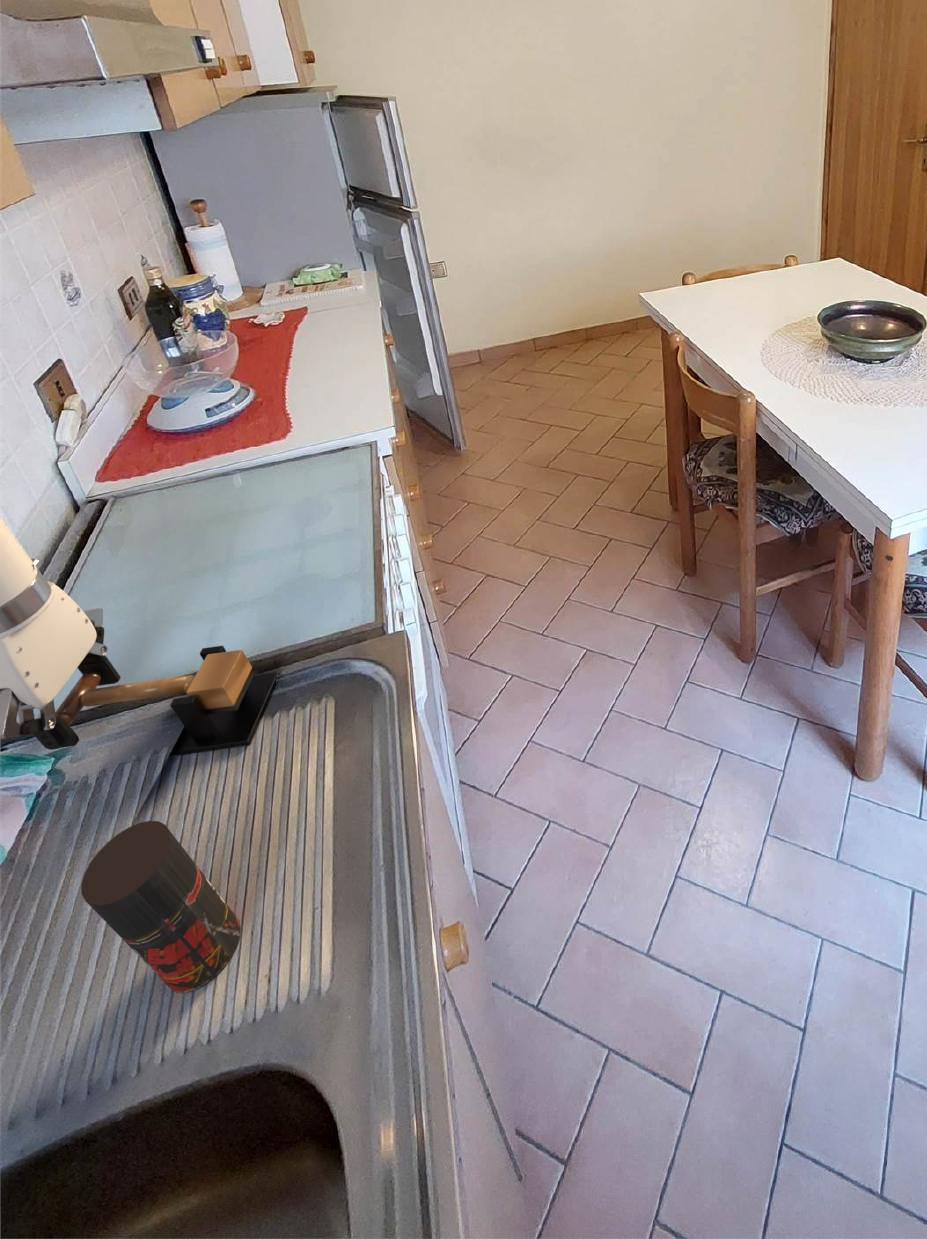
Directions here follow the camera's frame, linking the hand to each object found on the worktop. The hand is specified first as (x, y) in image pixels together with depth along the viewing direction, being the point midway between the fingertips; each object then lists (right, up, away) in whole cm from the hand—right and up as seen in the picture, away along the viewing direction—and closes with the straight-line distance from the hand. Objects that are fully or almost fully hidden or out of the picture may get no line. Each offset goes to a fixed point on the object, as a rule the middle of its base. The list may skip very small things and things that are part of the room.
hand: (86, 711), depth 80 cm
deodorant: (+25, -12, -18) cm, 33 cm away
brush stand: (+14, -2, +2) cm, 14 cm away
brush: (+8, +1, +1) cm, 9 cm away
